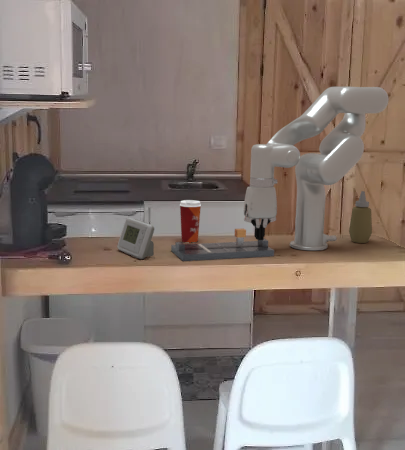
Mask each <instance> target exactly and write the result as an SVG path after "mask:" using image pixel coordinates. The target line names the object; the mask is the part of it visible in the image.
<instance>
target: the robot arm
mask: <svg viewBox="0 0 405 450" xmlns="http://www.w3.org/2000/svg"><path fill="white" fill-rule="evenodd" d="M388 105H389V93H387V91H386V90H385V89H384V88H383V87H379V86H363V87H362V86H330V87H327V88H326V89H325V90H323V92H321V94H320V95H319V96H317V98H316V99H315V100H314V101H313V102H312V103H311V105H310V106H309V107H308V108H307V109H306V110H305V111H304V112H303V113H302V114H301V115H300V116H299V117H297V118H295V119H294V120H291V122H290V123H288V124H286V125H285V126H284V127H283V126H282V128H281V129H279V130H278V131H277V132H276V133H275V134H273V136H272V137H271V138H270V139H269V141H267V143H266V144H265V143H261V144H260V143H257V144H253V145H252V147H251V148H250V149H251V152H250V153H251V154H250V174H249V176H250V179H249V186H247V188H246V191H245V196H244V203H243V216H244V218H243V220H244V222H246V223H250V224H252V226H253V227H254V237H255V239H256V241H258V240H264V239H265V236H266V228H267V226H268V225H269V224H271V223H273V222H275V221H277V217H276V216H277V214H278V212H277V211H278V201H277V200H278V199H277V191H276V187H275V185H277V184H278V183H279V182H278V179H276V178H275V167H276V168H277V167H279V168H286V169H287V168H293V167H295V168H294V173H295V179H296V203H295V204H296V205H295V208H296V209H295V223H294V224H295V225H294V226H295V227H294V240H291V241H289V246H290V247H291V248H293V249H296V250H301V251H323V250H327V248H328V242H337V236H336V235H334V234H333V235H329V234H326V233H324V229H325V213H326V198H327V197H326V196H327V195H326V188H325V186H332V185H333V186H334V185H335V184H337V183H338V182H339V181H340V180H342V179H343V178H344V177H345V175H347V174H348V173H349V172H350V170H352V168H353V167H354V166H356V165H357V163H358V162H359V161H360V160H361V159H362V156H363V154H364V151H365V143H364V141H363V139H362V136H363V134H364V133H365V131H366V123H367V122H366V114H379V113H382V112H384V111H385V109H387V106H388ZM339 114H344V115H343V118H342V120H341V121H339V123H338V124H337V125H336V126H335V127H334V128H333V129H332V130H331V131H330V132H329V133H328V134H327V135H326V136H325V137H324V138H323V139H322V140H321V142H320V144H319V150H318V151H319V153H314V152H311V153H309V152H308V153H304V154H302V155H301V153H300V152H301V151H300V150H299V149H298V147H296V146H295V145H296V144H297V143H300V142H302V141H304V140H307V139H311V138H313V137H316V136H318V135H320V134H321V133H322V132H323V131H324V130H325V129H326V128H327V127H328V126H329V124H330V123H331V122H332V121H333V120H334V119H335V118H336V117H337V116H338V115H339Z"/></svg>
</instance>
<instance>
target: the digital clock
mask: <svg viewBox="0 0 405 450" xmlns="http://www.w3.org/2000/svg"><path fill="white" fill-rule="evenodd" d="M154 232H155V227H154V225H152V224H150V223H148V222H146V221H144V220H143V221H142V220H139V219H137V218H132V217H127V218H126V219H125V221H124V223H123V227H122V230H121V233H120V237H119V239H118V243H117V246H116V247H117V249H118V251H121V252H122V253H123V252H124V253H123V254H126V255H128V256H130V255H131V257H133V258H136V259H138V260H139V259H140V260H144V259H146V257H153V256H154V248H155V247H154V245H155V243H154V241H153V240H152V239H153V236H154Z"/></svg>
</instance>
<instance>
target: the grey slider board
mask: <svg viewBox="0 0 405 450" xmlns="http://www.w3.org/2000/svg"><path fill="white" fill-rule="evenodd" d="M170 247H171V251H170V252H172V253H173V254H175V256H176V257H177V258H179V259H180V260H181V261H182V262H192V261H193V260H195V261H211V260H228V259H245V258H247V259H248V258H264V257H265V258H268V257H269V258H270V257H274V256H275V249H273V248H271V247H270V246H269V240H268V239H266V238H264V240H246V241H245V240H244V246H237V245H236V241H228V242H227V241H226V242H210V243H209V242H207V243H205V242H204V243H203V242H202V243H184V242H182V241H176V242H175V244H171V246H170Z"/></svg>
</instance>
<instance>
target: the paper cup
mask: <svg viewBox="0 0 405 450" xmlns="http://www.w3.org/2000/svg"><path fill="white" fill-rule="evenodd" d="M201 206H202V204H201V201H200V200H193V199H184V200H180V204H179V210H180V211H179V212H180V215H179V216H180V233H181V234H180V235H181V242H182V243H184V242H189V243H188V244H192V243H191V242H196V243H198V242H197V241H199V232H200V220H201Z"/></svg>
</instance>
